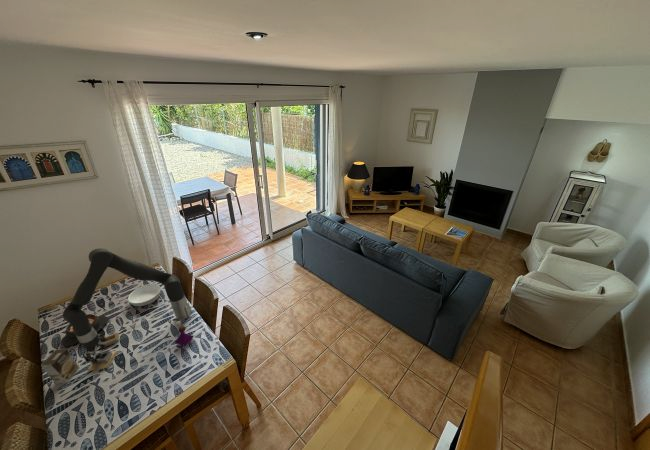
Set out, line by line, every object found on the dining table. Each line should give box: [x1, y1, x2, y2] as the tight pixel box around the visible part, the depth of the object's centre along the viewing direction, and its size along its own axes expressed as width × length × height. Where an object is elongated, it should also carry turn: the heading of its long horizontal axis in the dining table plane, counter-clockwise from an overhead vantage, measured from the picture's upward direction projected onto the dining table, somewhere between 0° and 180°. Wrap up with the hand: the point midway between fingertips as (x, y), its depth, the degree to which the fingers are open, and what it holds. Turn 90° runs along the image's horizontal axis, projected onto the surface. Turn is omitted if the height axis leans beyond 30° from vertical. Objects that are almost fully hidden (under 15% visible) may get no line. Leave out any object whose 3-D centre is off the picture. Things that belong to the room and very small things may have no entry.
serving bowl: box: [127, 283, 162, 307], centre depth 195 cm, size 21×21×7 cm
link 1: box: [90, 351, 113, 365], centre depth 151 cm, size 8×5×3 cm
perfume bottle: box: [174, 320, 194, 347], centre depth 159 cm, size 8×8×18 cm
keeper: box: [87, 350, 118, 371], centre depth 151 cm, size 10×10×6 cm
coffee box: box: [40, 348, 80, 385], centre depth 141 cm, size 9×6×16 cm
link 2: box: [104, 332, 120, 348], centre depth 163 cm, size 8×5×3 cm
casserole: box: [60, 313, 110, 347], centre depth 168 cm, size 25×19×8 cm
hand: (100, 355), depth 150 cm, fingers open, 8 cm apart
